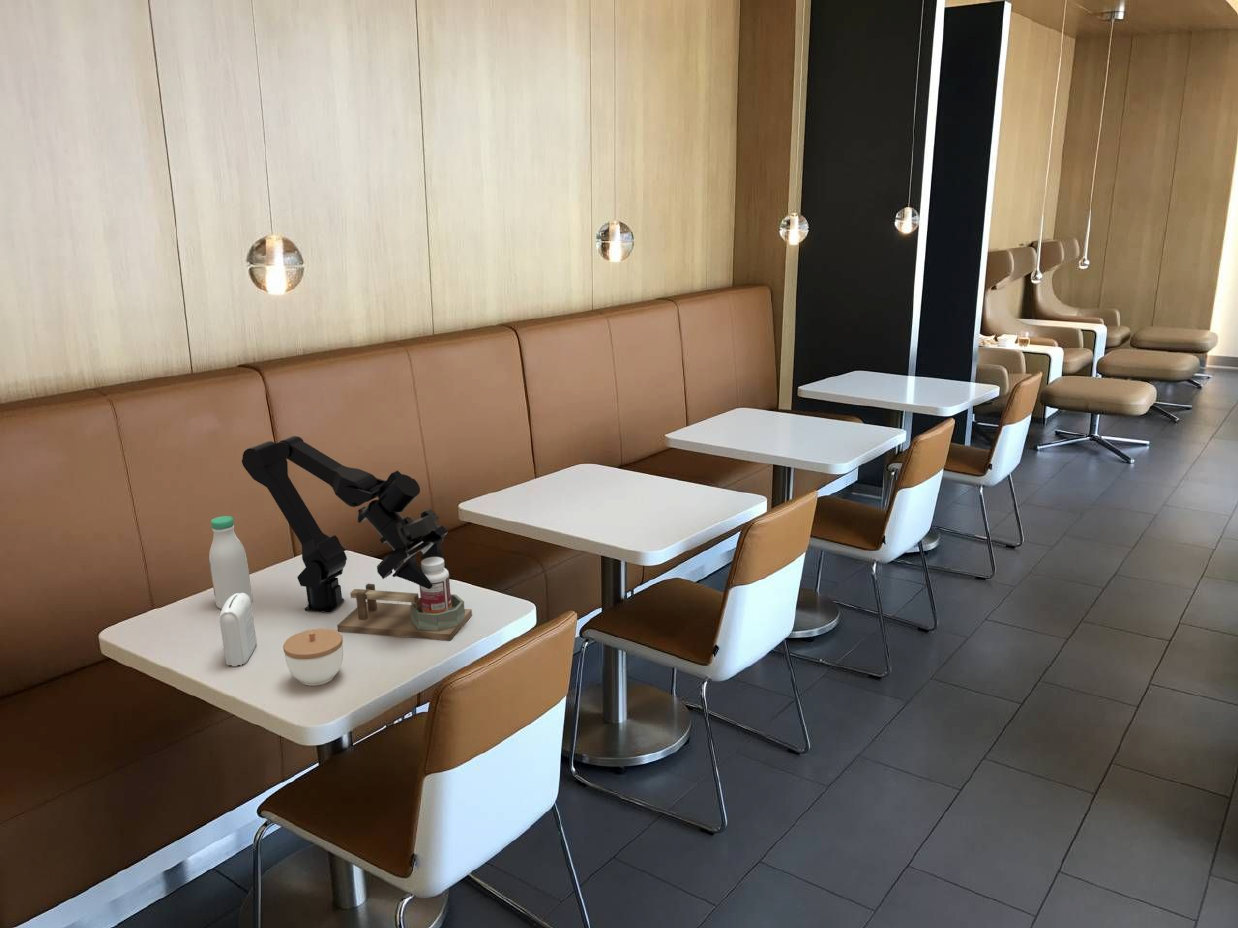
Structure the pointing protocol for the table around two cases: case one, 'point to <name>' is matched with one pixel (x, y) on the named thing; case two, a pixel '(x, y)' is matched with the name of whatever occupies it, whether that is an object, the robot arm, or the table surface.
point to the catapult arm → (417, 616)
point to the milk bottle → (228, 562)
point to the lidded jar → (314, 655)
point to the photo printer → (237, 629)
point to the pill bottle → (435, 586)
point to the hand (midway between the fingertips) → (439, 581)
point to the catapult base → (390, 620)
